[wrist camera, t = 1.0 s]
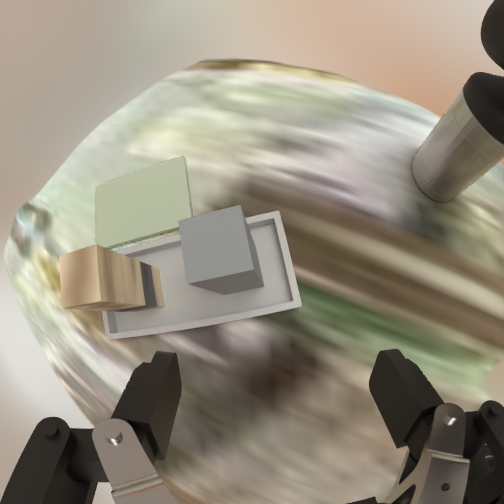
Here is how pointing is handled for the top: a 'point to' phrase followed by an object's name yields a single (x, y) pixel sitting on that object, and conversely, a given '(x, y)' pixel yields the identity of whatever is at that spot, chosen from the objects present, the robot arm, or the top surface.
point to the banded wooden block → (108, 281)
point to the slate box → (220, 252)
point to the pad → (142, 204)
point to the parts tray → (204, 301)
